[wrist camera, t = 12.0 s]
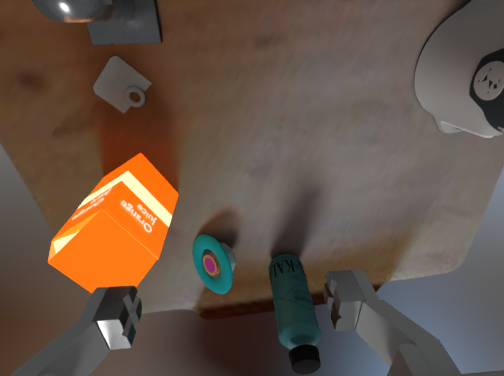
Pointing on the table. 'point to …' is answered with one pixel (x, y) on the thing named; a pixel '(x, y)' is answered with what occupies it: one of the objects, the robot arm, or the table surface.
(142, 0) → the grey windowed jig
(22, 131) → the table surface
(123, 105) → the mounting bracket
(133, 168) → the orange juice
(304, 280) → the beverage bottle
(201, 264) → the ornament
